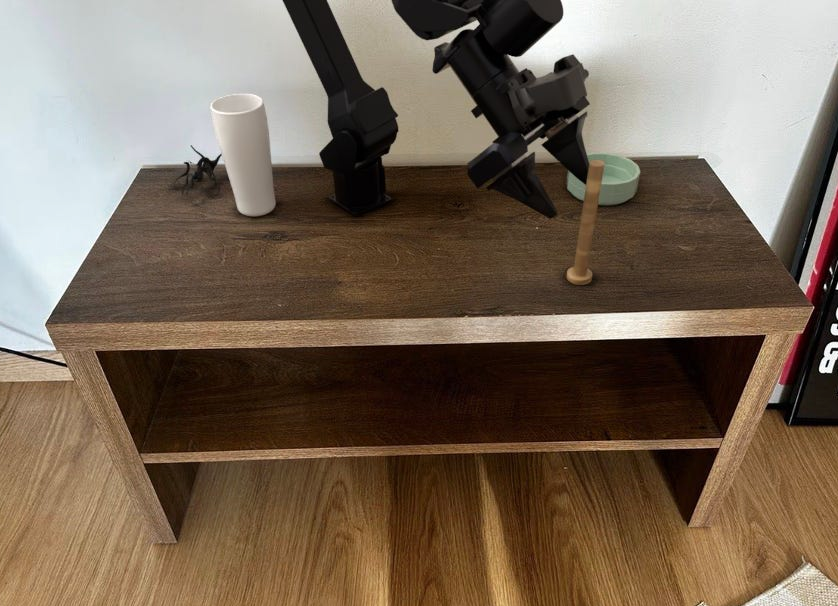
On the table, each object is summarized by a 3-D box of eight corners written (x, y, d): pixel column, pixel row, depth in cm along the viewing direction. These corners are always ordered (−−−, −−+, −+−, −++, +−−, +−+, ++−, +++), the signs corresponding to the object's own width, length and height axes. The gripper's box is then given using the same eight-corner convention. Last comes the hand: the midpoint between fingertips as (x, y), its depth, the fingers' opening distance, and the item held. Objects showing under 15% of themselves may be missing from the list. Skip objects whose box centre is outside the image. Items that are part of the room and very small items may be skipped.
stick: (580, 288, 83) (599, 171, 73) (561, 277, 85) (577, 162, 75) (596, 278, 84) (617, 163, 75) (577, 268, 86) (595, 154, 76)
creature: (211, 209, 100) (240, 174, 104) (198, 179, 96) (228, 144, 100) (166, 199, 102) (196, 166, 107) (151, 170, 98) (183, 136, 102)
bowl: (606, 214, 96) (610, 191, 94) (552, 188, 102) (555, 166, 99) (649, 191, 101) (654, 169, 99) (595, 168, 107) (598, 146, 104)
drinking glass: (271, 223, 95) (251, 115, 85) (224, 218, 96) (199, 111, 86) (288, 199, 100) (272, 94, 90) (244, 194, 101) (223, 91, 91)
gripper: (497, 62, 65) (591, 201, 67) (584, 13, 76) (661, 133, 79) (428, 125, 73) (514, 247, 76) (516, 73, 85) (588, 179, 87)
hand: (573, 199), depth 79 cm, fingers open, 9 cm apart
